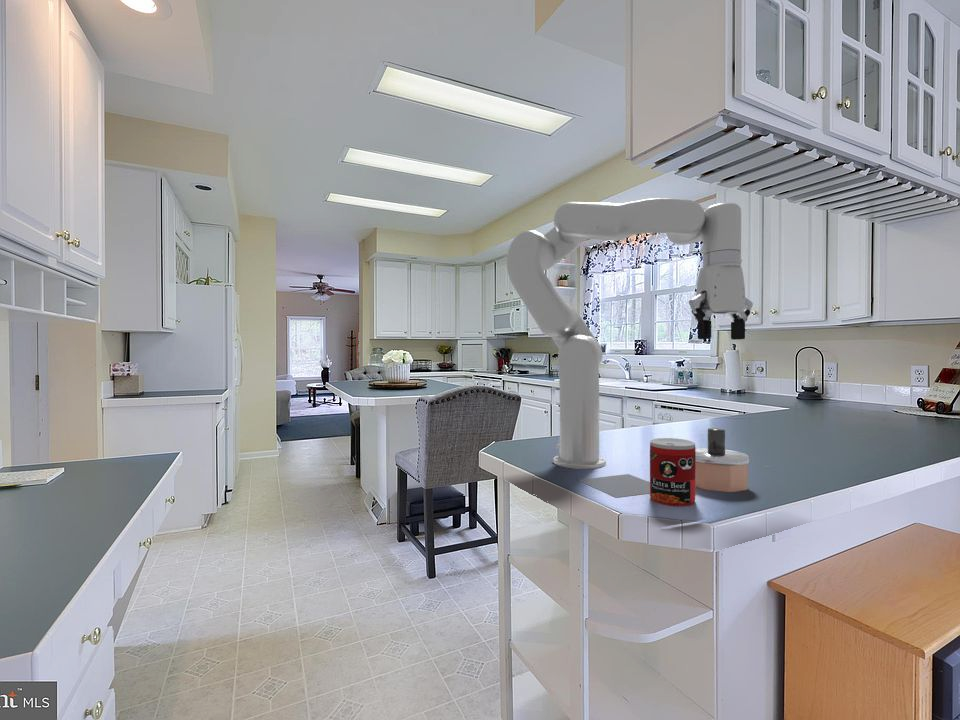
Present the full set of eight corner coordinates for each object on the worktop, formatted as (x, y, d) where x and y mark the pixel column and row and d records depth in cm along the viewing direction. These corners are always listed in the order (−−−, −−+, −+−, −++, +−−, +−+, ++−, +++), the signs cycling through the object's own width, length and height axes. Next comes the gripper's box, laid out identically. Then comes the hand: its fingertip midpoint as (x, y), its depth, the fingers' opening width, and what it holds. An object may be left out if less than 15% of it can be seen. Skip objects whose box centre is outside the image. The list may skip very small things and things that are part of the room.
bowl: (675, 481, 98) (675, 455, 98) (714, 476, 102) (714, 451, 102) (717, 495, 88) (718, 466, 88) (759, 489, 92) (759, 462, 92)
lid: (673, 455, 98) (673, 427, 98) (714, 451, 102) (714, 423, 102) (718, 467, 88) (718, 436, 87) (762, 462, 92) (762, 432, 92)
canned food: (645, 503, 84) (645, 443, 84) (655, 492, 90) (655, 436, 90) (691, 511, 79) (691, 447, 79) (698, 499, 86) (698, 440, 86)
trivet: (577, 481, 98) (577, 479, 98) (628, 475, 103) (628, 474, 103) (616, 499, 86) (615, 497, 86) (671, 492, 91) (671, 490, 91)
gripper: (736, 267, 109) (736, 340, 109) (678, 262, 103) (677, 339, 103) (765, 261, 102) (765, 339, 102) (704, 255, 96) (704, 338, 96)
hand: (721, 339), depth 103 cm, fingers open, 9 cm apart
